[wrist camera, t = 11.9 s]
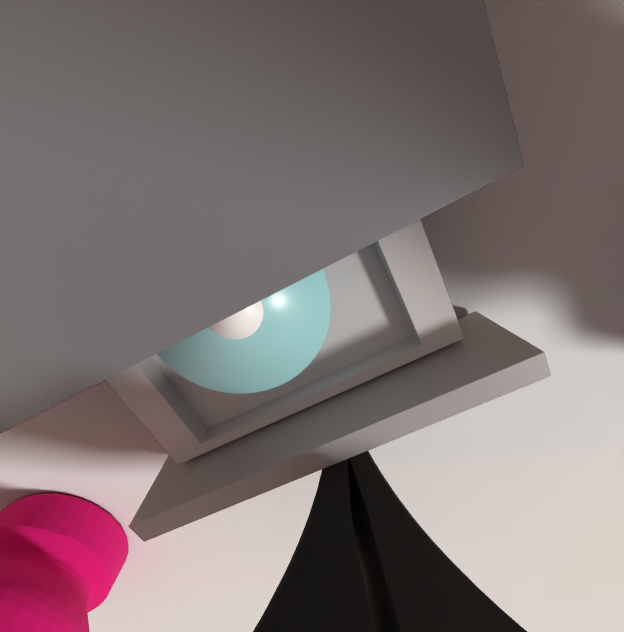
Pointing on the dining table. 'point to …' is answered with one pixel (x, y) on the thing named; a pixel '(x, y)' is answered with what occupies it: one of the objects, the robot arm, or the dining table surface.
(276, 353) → the disc
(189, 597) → the dining table surface
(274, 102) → the box
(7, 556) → the pepper mill
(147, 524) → the tray
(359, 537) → the robot arm
